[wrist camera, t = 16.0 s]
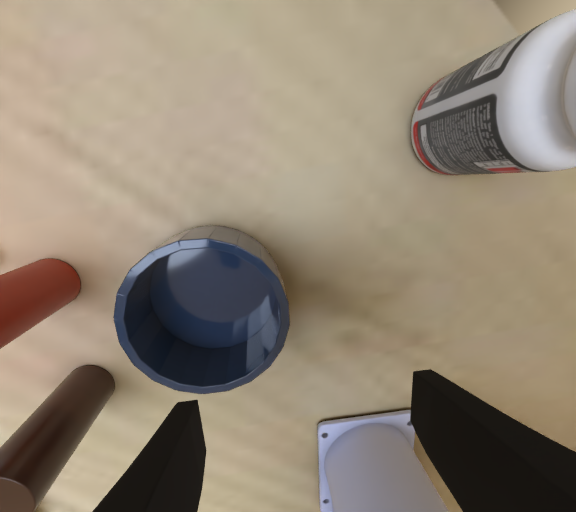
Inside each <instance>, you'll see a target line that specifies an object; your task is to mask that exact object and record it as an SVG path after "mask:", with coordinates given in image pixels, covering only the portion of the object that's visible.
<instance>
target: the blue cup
mask: <svg viewBox="0 0 576 512" xmlns="http://www.w3.org/2000/svg"><path fill="white" fill-rule="evenodd" d="M114 323H115V327H116V331H117V336H118V340H119V343H120V345H121V347H122V348H123V350H124V351H125V353H126V354H127V356H128V357H129V359H130V360H131V362H132V363H133V364H134V366H136V367H137V368H138V369H139V370H141V371H142V372H143V373H144V374H145V375H147V376H148V377H149V378H150V379H152V380H154V381H155V382H158V383H160V384H162V385H165V386H167V387H169V388H172V389H174V390H177V391H183V392H190V393H197V394H202V393H203V394H208V393H216V392H225V391H227V390H228V391H229V390H232V389H234V388H237V387H239V386H242V385H244V384H246V383H249V382H250V381H252V380H254V379H255V378H256V377H257V376H259V375H260V374H261V373H263V372H264V371H265V370H266V369H268V368H269V367H270V366H271V364H272V363H273V361H274V360H275V358H276V357H277V356H278V354H279V353H280V351H281V350H282V348H283V346H284V343H285V339H286V336H287V333H288V329H289V325H290V322H289V303H288V299H287V295H286V291H285V288H284V284H283V281H282V277H281V275H280V272H279V269H278V267H277V265H276V263H275V261H274V259H273V258H272V256H271V254H270V253H269V252H268V251H267V249H266V248H265V247H264V246H263V245H262V244H261V243H259V242H258V241H257V240H255V239H254V238H253V237H251V236H249V235H247V234H246V233H244V232H241V231H239V230H236V229H233V228H229V227H224V226H200V227H195V228H191V229H188V230H185V231H183V232H181V233H179V234H177V235H174V236H172V237H171V238H169V239H168V240H166V241H165V242H164V243H162V244H161V245H159V246H158V247H156V248H155V249H154V250H152V251H151V252H149V253H148V254H147V255H146V256H145V257H144V258H142V259H141V260H140V261H139V262H138V263H137V264H135V265H134V266H133V267H132V268H131V269H130V270H129V272H128V274H127V275H126V277H125V279H124V281H123V283H122V284H121V286H120V288H119V290H118V292H117V296H116V303H115V310H114Z"/></svg>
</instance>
